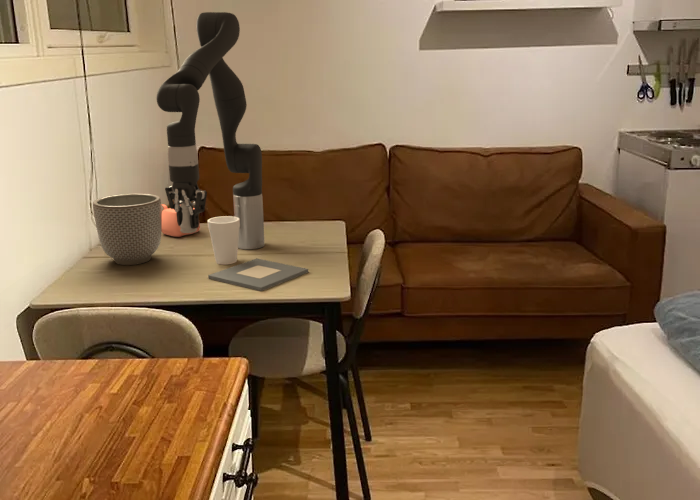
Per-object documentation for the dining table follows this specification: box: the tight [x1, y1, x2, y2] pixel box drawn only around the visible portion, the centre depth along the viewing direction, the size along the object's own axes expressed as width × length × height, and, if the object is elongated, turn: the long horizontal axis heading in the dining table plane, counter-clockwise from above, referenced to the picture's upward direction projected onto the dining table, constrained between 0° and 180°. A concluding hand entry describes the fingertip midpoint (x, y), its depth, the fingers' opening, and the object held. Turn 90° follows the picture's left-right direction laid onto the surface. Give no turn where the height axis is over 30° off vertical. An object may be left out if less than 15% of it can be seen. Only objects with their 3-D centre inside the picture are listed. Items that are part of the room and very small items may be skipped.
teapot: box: [161, 203, 201, 238], centre depth 255 cm, size 12×18×10 cm, turn 50°
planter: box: [92, 193, 162, 266], centre depth 222 cm, size 20×20×19 cm
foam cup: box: [207, 215, 240, 265], centre depth 220 cm, size 10×9×13 cm
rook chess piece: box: [180, 201, 197, 234], centre depth 193 cm, size 4×4×8 cm
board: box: [207, 257, 309, 292], centre depth 207 cm, size 20×20×1 cm
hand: (188, 226), depth 194 cm, fingers closed on rook chess piece, 4 cm apart
